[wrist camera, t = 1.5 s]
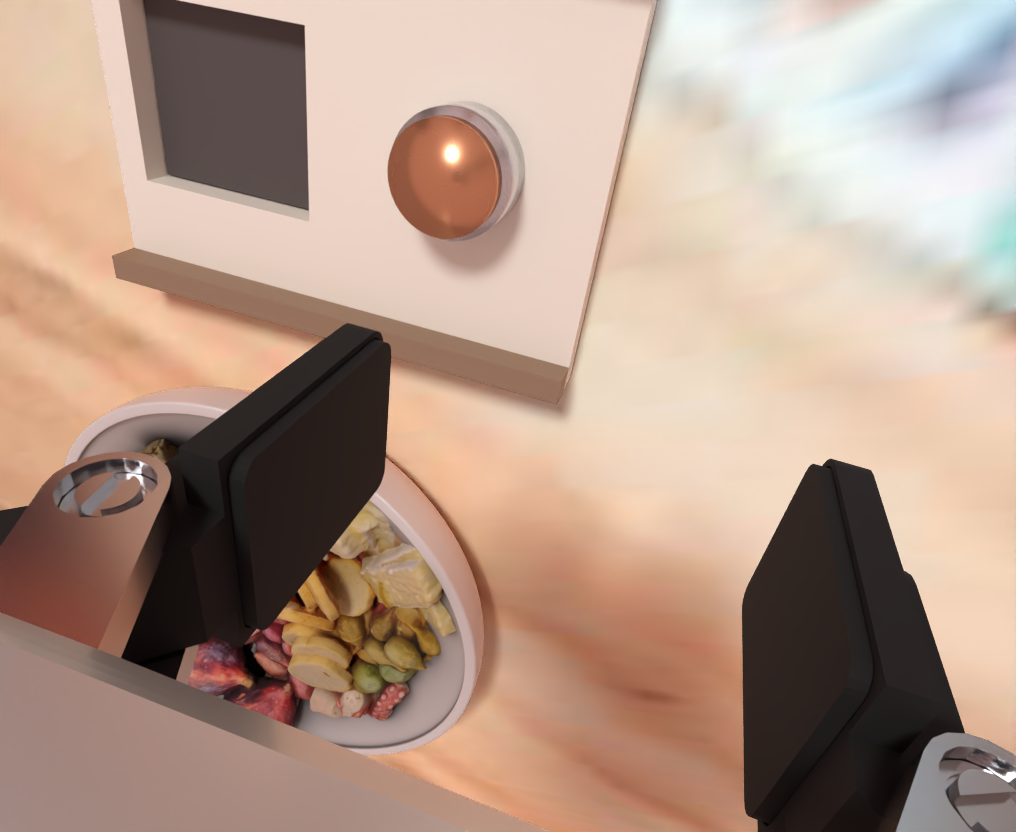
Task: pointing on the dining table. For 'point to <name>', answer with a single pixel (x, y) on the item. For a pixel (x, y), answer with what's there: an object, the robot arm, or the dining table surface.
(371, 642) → the bowl
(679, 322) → the dining table surface
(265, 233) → the board
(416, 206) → the puck
